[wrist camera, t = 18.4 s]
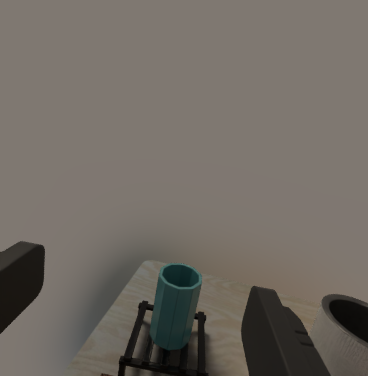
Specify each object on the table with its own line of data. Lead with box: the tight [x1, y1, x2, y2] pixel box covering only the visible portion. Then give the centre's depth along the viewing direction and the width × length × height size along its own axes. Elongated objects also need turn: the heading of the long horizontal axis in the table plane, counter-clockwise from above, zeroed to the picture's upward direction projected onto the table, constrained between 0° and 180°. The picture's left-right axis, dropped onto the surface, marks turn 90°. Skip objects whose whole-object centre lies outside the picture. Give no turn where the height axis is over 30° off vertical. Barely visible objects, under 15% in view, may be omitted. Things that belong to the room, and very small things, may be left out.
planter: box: [309, 294, 368, 376], centre depth 37 cm, size 12×13×11 cm
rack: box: [118, 301, 208, 376], centre depth 37 cm, size 12×11×4 cm
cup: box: [149, 263, 202, 350], centre depth 35 cm, size 6×6×10 cm
